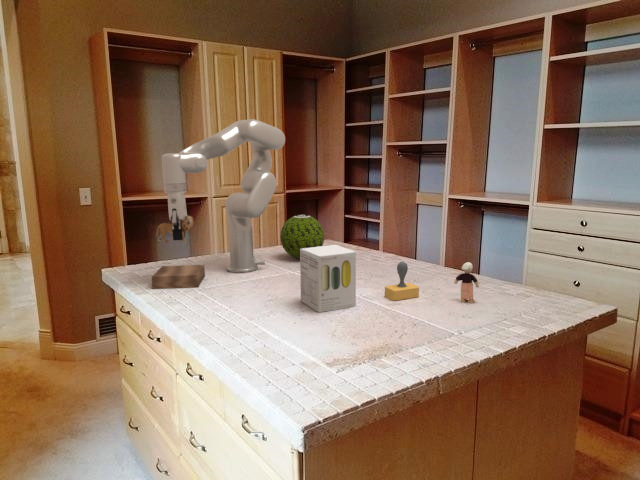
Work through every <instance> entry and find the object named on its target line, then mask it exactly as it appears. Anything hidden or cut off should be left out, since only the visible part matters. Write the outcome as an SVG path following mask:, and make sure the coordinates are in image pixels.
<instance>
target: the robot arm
mask: <svg viewBox="0 0 640 480" xmlns="http://www.w3.org/2000/svg"><path fill="white" fill-rule="evenodd" d="M247 142H250V143H249V144H250V146H251V149H252V155H253V156H252V160H251V162H250V163H249V165H248V167H247V169H246V171H245V172H244V174H243V176H242V177H241V180H240V188H241V190H242V191H243V192H233V193H231V194H229V195H228V197H226V200H225V204H224V205H225V212H226V215H227V221H228V222H227V223H228V237H229V238H228V239H229V259H230V265H227V267H226V270H227V271H228V272H230V273H237V274H238V273H250V272H254V271H257V270H258V267H259V265H260V266H265V265H266V261H265V259H256V257H255V256H254V234H253V233H254V227H253V223H252V219H256V218H259V217H261V216H262V214H263V213H264V212H265V210H266V208H267V207H268V205H269V203H270V201H271V199H272V197H273V196H274V194H275V192H276V189H277V179H276V176H275V175H274V174H273V173H272V172H270V171H271V170H272V168H273V167H272V166H273V158H272V154H271V151H277V150H281V149H282V148H283V147H284V145H285V143H286V136H285V133H284V132H283V131H282V130H281V129H280V128H278V127H275V126H273V125H271V124H268V123H265V122H263V121H261V120H258V119H252V118H251V119H240V120H237V121H235V122H232V124H230V125H228V126H227V127H225V128H224V129H221V130H220V131H219V132H216V133H215V134H213V135H211V136H209V137H206V138H205V139H202V140H199V141H197V142H195V143H193V144H191V145H189V146H188V147H186V148H184V149H182V150H181V151H179V152H178V153H177V152H176V153H175V152H174V153H173V152H172V153H170V152H169V153H164V154H163V155H162V156H161V165H162V166H161V167H162V178H163V179H162V180H163V189H164V192H163V193H164V194H167V207H168V208H167V209H168V210H167V211H168V218H169V221H170V222H171V224H172V231H173V234H172V240H173V241H182V239H183V237H182V229H181V220H182V221H183V220H184V219H185V217H186V216H188V213H187V212H188V211H187V203H186V197H185V193H187V180H186V174H200V173H202V172H204V171H205V170H206V169H207V168H208V160H210V159H216V158H219V157H223V156H226V155H228V154H229V153H231V152H233V151H234V150H235V149H237V148H238V147H241V145H243V144H245V143H247ZM251 218H252V219H251ZM177 222H179V223H177ZM185 237H186V233H184V238H185Z"/></svg>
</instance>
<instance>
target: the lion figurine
mask: <svg viewBox="0 0 640 480" xmlns="http://www.w3.org/2000/svg"><path fill="white" fill-rule="evenodd" d="M177 223H179V222H177ZM193 227H194V218H193V216H191V215H187V216H186V217H185V219H184V220H183V221H182V220H181V229H182V237H183V239H182V240H181V242H186V239H185V237H184V233H185V234H186V233H189V231H190V230H191V229H192V228H193ZM167 233H170V234H172V235H173V231H172V223H167V222H163V223H160V224H159V225H158V226H157V230H156V234H155V237H154V239H152V242H156V240H157V241H158V242H162V241H163V242H164V243H168V242H169V241H168V240H166V238H165V237H166V234H167Z"/></svg>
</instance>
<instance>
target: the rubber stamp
mask: <svg viewBox="0 0 640 480" xmlns="http://www.w3.org/2000/svg"><path fill="white" fill-rule="evenodd" d="M408 269H409V267H408V264H407V263H406V262H405V261H400V262H398V264H397V267H396V270H397V274H398V276H399V283H397V284H391V285H386V286H384V298H386V299H388V300H390V301H392V302H396V301H403V300H408V299H414V298H419V297H420V287H419V286H418V285H415V284H414V283H410V282H405V278H406V275H407V273H408Z"/></svg>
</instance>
